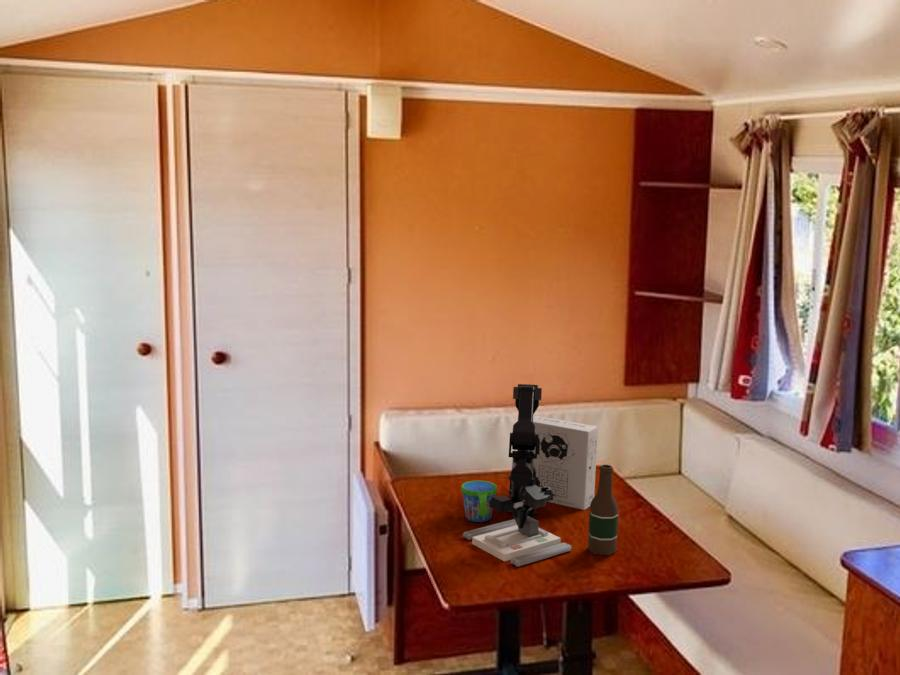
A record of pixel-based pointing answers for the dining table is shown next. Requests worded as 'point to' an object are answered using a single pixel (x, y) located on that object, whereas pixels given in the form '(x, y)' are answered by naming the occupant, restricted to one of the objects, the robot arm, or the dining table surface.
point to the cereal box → (567, 460)
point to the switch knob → (530, 527)
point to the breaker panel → (513, 542)
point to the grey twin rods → (523, 558)
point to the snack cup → (478, 500)
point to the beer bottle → (603, 516)
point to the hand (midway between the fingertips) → (520, 528)
